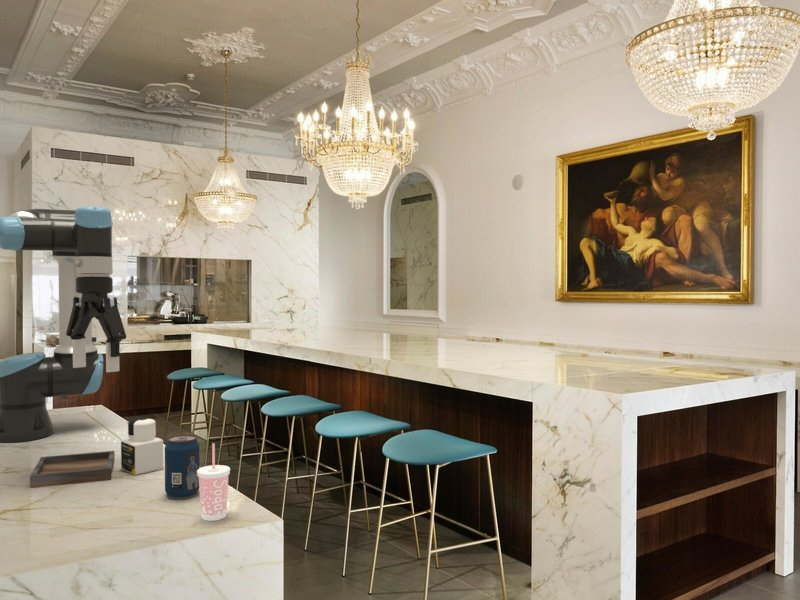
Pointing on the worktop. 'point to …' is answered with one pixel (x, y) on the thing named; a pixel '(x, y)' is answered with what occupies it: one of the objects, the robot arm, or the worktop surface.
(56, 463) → the wooden tray
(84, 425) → the worktop surface
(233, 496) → the worktop surface
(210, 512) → the beverage cup
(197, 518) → the worktop surface
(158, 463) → the medicine bottle
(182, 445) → the soda can
